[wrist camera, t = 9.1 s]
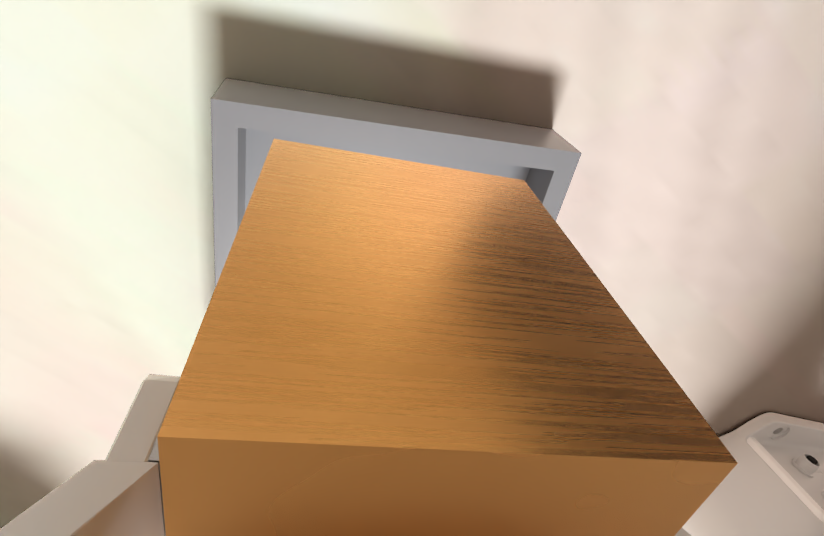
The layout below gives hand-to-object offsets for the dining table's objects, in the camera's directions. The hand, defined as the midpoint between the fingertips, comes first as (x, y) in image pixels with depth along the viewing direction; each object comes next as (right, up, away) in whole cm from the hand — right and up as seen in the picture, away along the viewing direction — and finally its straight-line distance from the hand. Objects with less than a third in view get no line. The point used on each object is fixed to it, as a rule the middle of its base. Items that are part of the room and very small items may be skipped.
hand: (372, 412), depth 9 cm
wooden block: (0, +1, +2) cm, 2 cm away
